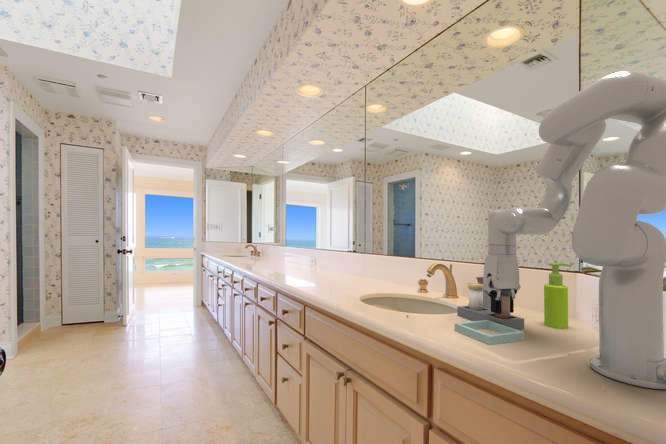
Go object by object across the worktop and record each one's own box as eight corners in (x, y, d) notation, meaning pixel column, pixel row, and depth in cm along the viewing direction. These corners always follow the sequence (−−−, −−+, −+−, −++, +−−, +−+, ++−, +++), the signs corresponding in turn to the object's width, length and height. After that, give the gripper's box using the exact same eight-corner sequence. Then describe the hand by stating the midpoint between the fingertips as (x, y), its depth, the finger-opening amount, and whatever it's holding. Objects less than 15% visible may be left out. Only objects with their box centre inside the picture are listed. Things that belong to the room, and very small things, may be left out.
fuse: (486, 318, 100) (486, 284, 101) (475, 320, 99) (476, 285, 99) (475, 315, 105) (475, 282, 105) (465, 316, 103) (465, 283, 103)
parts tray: (524, 343, 80) (524, 332, 80) (489, 349, 76) (489, 336, 76) (486, 330, 91) (486, 319, 91) (454, 334, 87) (454, 323, 87)
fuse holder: (524, 332, 90) (524, 318, 90) (503, 335, 87) (503, 320, 87) (475, 316, 107) (475, 304, 107) (457, 318, 104) (457, 306, 104)
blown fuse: (514, 327, 91) (514, 290, 91) (503, 329, 89) (503, 290, 90) (501, 323, 95) (501, 287, 96) (490, 324, 94) (489, 288, 94)
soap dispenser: (576, 333, 90) (575, 264, 91) (549, 331, 91) (549, 263, 92) (565, 327, 96) (565, 262, 97) (540, 325, 97) (540, 262, 98)
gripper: (511, 250, 100) (511, 307, 99) (470, 250, 94) (470, 311, 93) (533, 251, 93) (533, 313, 92) (491, 251, 87) (491, 317, 86)
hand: (502, 311), depth 92 cm, fingers closed on blown fuse, 4 cm apart
